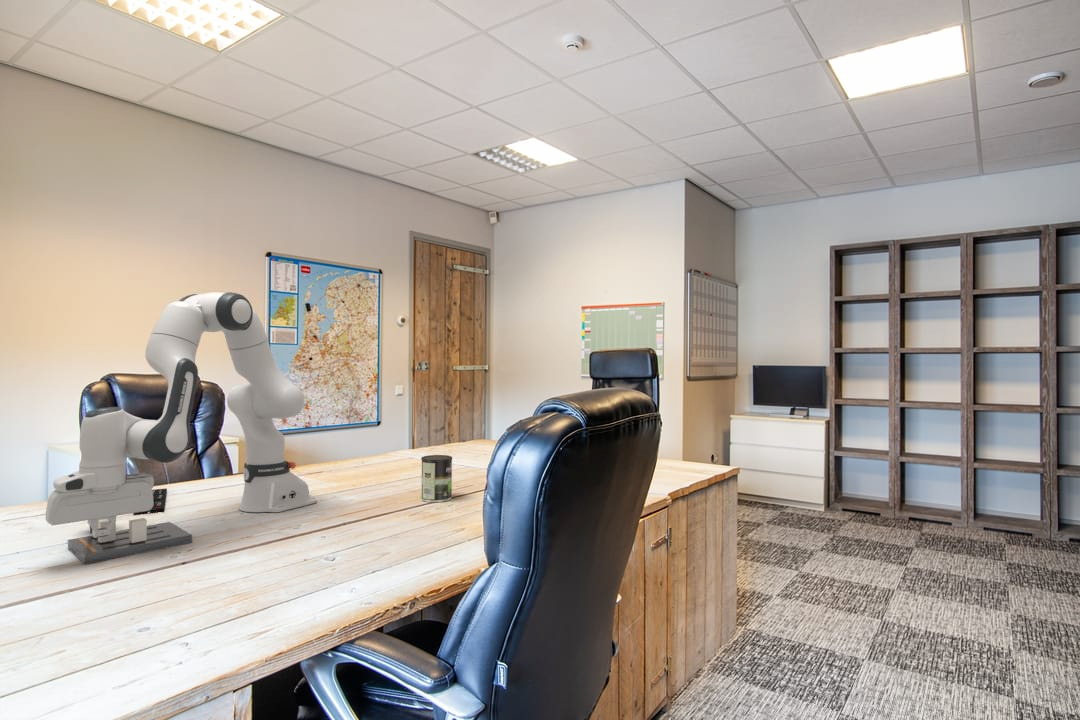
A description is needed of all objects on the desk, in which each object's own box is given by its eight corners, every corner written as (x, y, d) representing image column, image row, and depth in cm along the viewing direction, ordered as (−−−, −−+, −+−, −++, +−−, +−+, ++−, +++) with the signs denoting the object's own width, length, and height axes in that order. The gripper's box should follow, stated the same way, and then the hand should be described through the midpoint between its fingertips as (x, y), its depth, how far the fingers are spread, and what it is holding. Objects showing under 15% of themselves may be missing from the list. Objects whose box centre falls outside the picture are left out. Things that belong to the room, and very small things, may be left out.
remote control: (133, 517, 174) (133, 510, 174) (140, 495, 202) (140, 489, 202) (164, 514, 178) (164, 507, 178) (166, 492, 206) (166, 487, 206)
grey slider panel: (169, 529, 161) (169, 521, 161) (192, 542, 150) (192, 534, 150) (67, 548, 144) (67, 539, 144) (84, 564, 133) (84, 555, 133)
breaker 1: (106, 533, 149) (107, 513, 149) (109, 535, 147) (109, 515, 147) (92, 536, 147) (92, 516, 147) (94, 538, 145) (94, 517, 145)
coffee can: (454, 495, 204) (454, 454, 204) (449, 502, 193) (449, 459, 193) (424, 495, 204) (424, 454, 204) (417, 502, 194) (418, 459, 194)
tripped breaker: (143, 538, 145) (143, 517, 145) (146, 540, 144) (146, 519, 144) (129, 540, 143) (129, 520, 143) (131, 543, 142) (132, 522, 142)
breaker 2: (112, 538, 145) (113, 517, 145) (115, 540, 144) (115, 519, 144) (98, 540, 143) (98, 520, 143) (100, 542, 141) (100, 522, 141)
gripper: (149, 469, 148) (148, 525, 148) (44, 481, 133) (43, 543, 132) (158, 473, 144) (157, 530, 144) (50, 485, 128) (49, 549, 128)
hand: (101, 536), depth 138 cm, fingers closed
